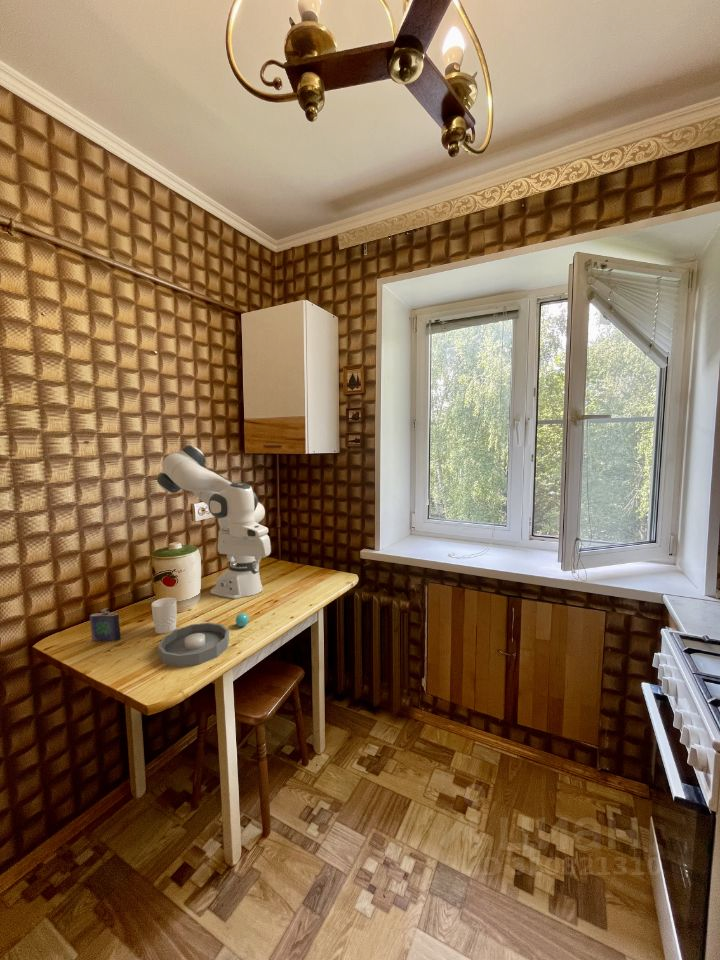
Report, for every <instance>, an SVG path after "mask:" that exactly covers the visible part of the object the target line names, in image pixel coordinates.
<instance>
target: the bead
mask: <svg viewBox="0 0 720 960" xmlns="http://www.w3.org/2000/svg"><path fill="white" fill-rule="evenodd" d="M248 623H249V615H248V614H247V613H245V612H242V613H239V614H237V615H236V617H235V624H236V626H238V627H241V628H242V627H245V626H246V625H247V624H248Z"/></svg>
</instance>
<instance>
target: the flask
mask: <svg viewBox="0 0 720 960" xmlns="http://www.w3.org/2000/svg"><path fill="white" fill-rule="evenodd" d="M89 621H90V631H91V641H92V642H96V643H97V642H101V643H102V642H104V643H105V642H118V641H120V640H121V638H122V637H121V629H120V618H119V613H117V612H114V611H112V612H111V611H109V610H108V607H105V608H103V609H101V610H100V612H99V613H98V612H97V613H92V614H91V615H89Z"/></svg>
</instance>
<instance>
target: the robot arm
mask: <svg viewBox="0 0 720 960" xmlns="http://www.w3.org/2000/svg"><path fill="white" fill-rule="evenodd" d="M206 462H207V461H206V456H205V454H204V453H203V452H202V450H200V449H199V448H198V447H196V446H193V445H188V444H187V445H185V446H184V447H182V448H181V450H180V451H179V452H178V453H177V452H176V453H170V454H168V455H167V456H166V457H165V458H164V460H163V461H162V471H161V472H159V473H158V476H157V478H156V483H157V484H158V485H159V487H160V489H162V490H163V491H165V492H168V493H171V494H175V493H179V492H180V491H181V490H182V489H183V490H185V491H188V492H191V493H192V494H194V496H195V497H197V498H198V499H199V500H200V501H201V502H203V503H204V504H205V505H207V506H208V510H209V512H210V514H211V515H212V516H213V517H214V518H216V519H217V522H218V526H219V527H220V529H219V531H218V540H217V552H218V553H219V554H221V555H226V558H227V560H228V562H226V566H228V568H227V569H225V571H224V572H222V573H221V574H220V575H218V576H217V578H216V582H215V586H213V587H212V588H211V589H210V592H209V593H210V594H211V595H215V596H220V597H224V598H228V599H232V600H236V599H240V598H244V597H251V596H254V595H257V594H259V593H260V592H262V591H263V590H264V587H263V584H262V581H261V580H262V579H261V575H260V563H261V560H262V559H263V558H266V557H269V556H270V554H271V553H272V546H271V539H270V536H269V535H268V533H269V528H268V527H266V526H265V525H262V524H260V522H261V521H262V520H263V519H264V518H265V515H266V510H265V507H264V505H263V504H262V503H261V502H259V499H258V498H259V497H258V496H257V494H256V492H255V491H254V490H253V487H252V486H251V484H249V483H246V482H233V481H232V480H229V478H226V477H224V476H223V475H221V474H218V473H216V472H214V471H212V470H210V469H207V466H206Z"/></svg>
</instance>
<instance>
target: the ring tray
mask: <svg viewBox="0 0 720 960" xmlns="http://www.w3.org/2000/svg"><path fill="white" fill-rule="evenodd" d="M229 642H230V629H229V628H227V627H226V626H225V625H224V624H221V623H215V622H201V623H193V624H189V625H187V626H183V627H180V628H176V629H174V630H173V631H171V632H169V633H167V635H165V636H163V637H162V639H161V641H160V642H159V644H158V646H157V649H158V658H159V660H160V661H161V662H162V663H163V664H164V665H165V666H170V667H175V668H184V667H191V666H197V665H199V666H200V665H202V664H204V663H207V662H209V661H211V660H212V661H213V660H214V659H216V658H218V657H219V656H221V655H222V654H223V653H224V652H225V651H226V650H227V649H228V648H229Z"/></svg>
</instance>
